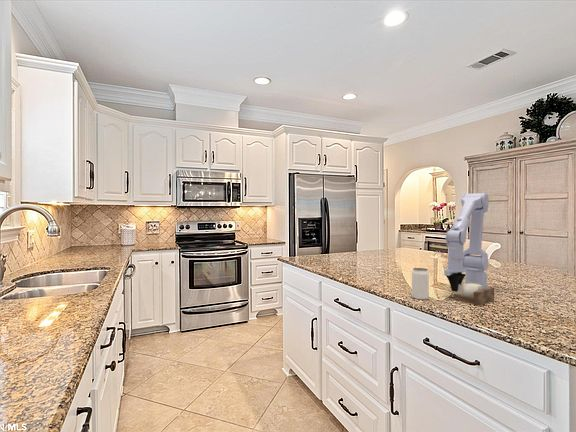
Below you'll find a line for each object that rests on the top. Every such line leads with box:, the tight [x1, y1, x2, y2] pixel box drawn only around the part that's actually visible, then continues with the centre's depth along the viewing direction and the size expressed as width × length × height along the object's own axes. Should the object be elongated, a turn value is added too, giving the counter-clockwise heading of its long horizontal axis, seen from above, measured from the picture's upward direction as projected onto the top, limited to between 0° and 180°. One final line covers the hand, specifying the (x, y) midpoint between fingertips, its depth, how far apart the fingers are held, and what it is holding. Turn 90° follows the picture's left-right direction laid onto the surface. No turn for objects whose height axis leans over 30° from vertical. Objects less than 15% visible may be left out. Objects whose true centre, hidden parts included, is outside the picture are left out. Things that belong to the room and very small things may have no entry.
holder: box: [454, 286, 495, 307], centre depth 133 cm, size 14×10×5 cm
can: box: [411, 267, 430, 301], centre depth 136 cm, size 6×6×12 cm
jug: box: [451, 281, 483, 298], centre depth 135 cm, size 11×6×6 cm, turn 36°
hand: (455, 290), depth 139 cm, fingers closed on jug
